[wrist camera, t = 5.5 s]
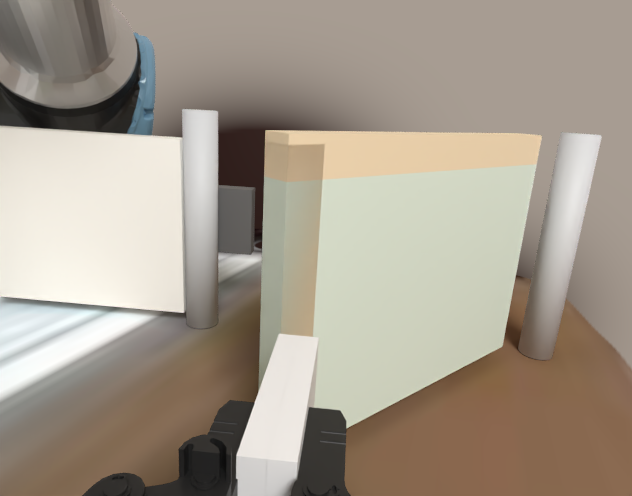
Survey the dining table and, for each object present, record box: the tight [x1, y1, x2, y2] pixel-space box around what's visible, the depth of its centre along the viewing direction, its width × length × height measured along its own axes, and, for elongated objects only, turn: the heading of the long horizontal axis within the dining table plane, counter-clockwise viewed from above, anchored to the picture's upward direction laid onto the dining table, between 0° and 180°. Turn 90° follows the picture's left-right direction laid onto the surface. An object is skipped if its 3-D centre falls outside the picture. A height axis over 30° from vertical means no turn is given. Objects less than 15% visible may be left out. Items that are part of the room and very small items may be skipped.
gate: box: [258, 130, 542, 428], centre depth 27 cm, size 20×2×15 cm, turn 130°
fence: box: [0, 109, 602, 360], centre depth 36 cm, size 3×43×16 cm, turn 85°
